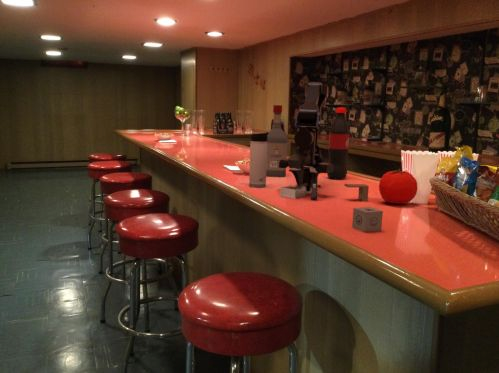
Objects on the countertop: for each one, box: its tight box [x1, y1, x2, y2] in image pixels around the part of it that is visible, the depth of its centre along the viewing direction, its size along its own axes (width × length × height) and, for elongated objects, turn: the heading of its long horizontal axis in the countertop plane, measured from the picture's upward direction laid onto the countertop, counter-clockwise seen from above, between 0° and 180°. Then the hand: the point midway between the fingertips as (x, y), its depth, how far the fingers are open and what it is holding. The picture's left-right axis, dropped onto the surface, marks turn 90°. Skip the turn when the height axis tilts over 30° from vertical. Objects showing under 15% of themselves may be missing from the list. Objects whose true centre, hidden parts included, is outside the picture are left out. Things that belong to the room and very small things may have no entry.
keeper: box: [344, 183, 370, 202], centre depth 151 cm, size 7×4×5 cm, turn 98°
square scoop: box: [279, 183, 316, 200], centre depth 157 cm, size 16×6×3 cm, turn 143°
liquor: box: [266, 104, 288, 178], centre depth 198 cm, size 9×9×30 cm
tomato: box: [378, 168, 418, 205], centre depth 146 cm, size 12×12×11 cm
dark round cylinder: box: [310, 186, 319, 201], centre depth 149 cm, size 2×2×4 cm
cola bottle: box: [326, 106, 351, 181], centre depth 195 cm, size 8×8×30 cm
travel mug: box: [248, 131, 270, 188], centre depth 170 cm, size 6×7×20 cm
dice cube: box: [351, 206, 384, 233], centre depth 114 cm, size 5×5×5 cm
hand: (304, 190), depth 159 cm, fingers closed on square scoop, 3 cm apart
